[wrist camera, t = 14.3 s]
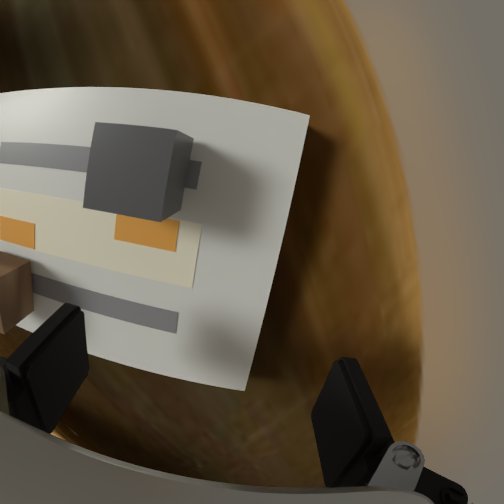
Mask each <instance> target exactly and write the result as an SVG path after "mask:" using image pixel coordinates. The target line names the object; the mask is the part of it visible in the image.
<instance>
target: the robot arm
mask: <svg viewBox="0 0 504 504" xmlns="http://www.w3.org/2000/svg"><path fill="white" fill-rule="evenodd" d="M88 372H89V361H88V353H87V343H86V331H85V317H84V312H83V311H81V308H80V307H79V306H77V305H74V304H70V303H64V304H63V305H62V306H61V307H60V308H59V309H58V310H56V311H55V312H54V313H53V314H52V315H51V316H50V317H49V318H48V319H47V320H46V321H45V322H44V323H43V324H42V325H41V326H40V327H39V328H37V329H36V330H35V331H34V332H33V333H32V334H31V335H30V336H29V337H28V338H27V339H26V340H25V341H24V342H23V343H22V344H21V345H20V346H19V347H18V348H17V349H16V350H15V351H14V352H13V353H12V354H11V355H10V357H9V358H8V359H7V360H6V361H5V364H4V365H3V366H1V365H0V504H468V503H467V502H468V496H467V493H466V491H465V489H464V488H463V487H462V486H461V485H459V484H457V483H455V482H453V481H451V480H449V479H447V478H445V477H443V476H441V475H439V474H437V473H435V472H433V471H431V470H429V469H427V468H425V467H423V466H424V461H425V460H424V455H423V454H422V452H421V450H419V449H418V448H417V447H416V446H415V445H413V444H411V443H408V442H402V441H400V442H395V443H394V440H393V438H392V436H391V433H390V431H389V429H388V426H387V424H386V422H385V420H384V417H383V415H382V413H381V411H380V409H379V406H378V404H377V402H376V400H375V398H374V395H373V393H372V391H371V389H370V387H369V385H368V382H367V380H366V378H365V376H364V374H363V372H362V370H361V368H360V365H359V363H358V361H357V360H356V359H355V358H344V357H341V358H340V359H339V360H338V361H335V362H334V363H333V366H332V368H331V370H330V373H329V375H328V377H327V379H326V382H325V384H324V386H323V388H322V390H321V393H320V395H319V397H318V399H317V401H316V403H315V405H314V407H313V410H312V414H311V419H312V424H313V428H314V433H315V438H316V443H317V448H318V452H319V457H320V462H321V467H322V472H323V477H324V482H325V486H326V487H329V488H279V487H261V486H248V485H238V484H229V483H221V482H214V481H207V480H201V479H195V478H190V477H184V476H179V475H174V474H170V473H165V472H161V471H157V470H153V469H149V468H145V467H141V466H137V465H134V464H130V463H127V462H124V461H120V460H117V459H114V458H111V457H108V456H105V455H102V454H99V453H96V452H93V451H90V450H88V449H85V448H82V447H80V446H77V445H75V444H72V443H70V442H67V441H65V440H63V439H60V438H58V437H55V436H53V435H51V434H50V433H52V431H53V430H54V428H55V427H56V425H57V423H58V421H59V420H60V418H61V416H62V415H63V413H64V411H65V410H66V408H67V407H68V405H69V403H70V402H71V400H72V398H73V397H74V395H75V394H76V392H77V390H78V389H79V387H80V386H81V384H82V382H83V381H84V379H85V378H86V376H87V374H88ZM48 433H49V434H48ZM471 504H473V503H471Z"/></svg>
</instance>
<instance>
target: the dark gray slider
mask: <svg viewBox="0 0 504 504" xmlns="http://www.w3.org/2000/svg"><path fill="white" fill-rule="evenodd" d="M193 141H194V138H192V137H190V136H188V135H186V134H184V133H182V132H180V131H178V130H173V129H165V128H157V127H148V126H138V125H128V124H116V123H102V122H95V126H94V131H93V137H92V142H91V148H90V154H89V160H88V167H87V175H86V182H85V191H84V201H83V208H87V209H92V210H98V211H103V212H108V213H114V214H119V215H125V216H130V217H135V218H141V219H146V220H151V221H156V222H162V221H164V220H165V219H167V218H168V217H170V216H172V215H173V214H175V213H176V212H178V211H180V210H181V206H182V200H183V194H184V188H185V183H186V177H187V172H188V166H189V161H190V156H191V151H192V146H193Z"/></svg>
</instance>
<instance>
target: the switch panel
mask: <svg viewBox="0 0 504 504" xmlns="http://www.w3.org/2000/svg"><path fill="white" fill-rule="evenodd" d="M309 117H310V115H306V114H302V113H298V112H294V111H290V110H286V109H281V108H277V107H272V106H267V105H263V104H258V103H252V102H247V101H242V100H236V99H230V98H224V97H217V96H210V95H203V94H195V93H187V92H178V91H167V90H156V89H141V88H120V87H67V88H47V89H34V90H23V91H14V92H5V93H0V251H2V252H5V253H8V254H11V255H14V256H17V257H20V258H24V259H27V260H30V261H31V278H32V292H33V303H34V311H33V312H31V313H30V314H29V315H28V316H26V317H25V318H24V319H23V320H21V321H20V322H19V323H18V324H16V325H17V326H19V327H21V328H23V329H26V330H28V331H30V332H34V331H35V330H36V329H37V328H39V327H40V326H41V325H42V324H43V323H44V322H45V321H46V320H47V319H48V318H49V317H50V316H51V315H52V314H53V313H54V312H55V311H56V310H58V309H59V308H60V307H61V306H62V305H63V304H64V303H70V304H74V305H77V306H79V307H80V308H81V311H83V312H84V317H85V331H86V343H87V353H89V354H92V355H95V356H98V357H101V358H104V359H107V360H110V361H114V362H117V363H120V364H124V365H127V366H131V367H135V368H138V369H142V370H146V371H149V372H153V373H157V374H161V375H165V376H170V377H174V378H178V379H183V380H187V381H192V382H197V383H202V384H207V385H212V386H218V387H223V388H229V389H235V390H241V391H245V387H246V384H247V380H248V376H249V372H250V369H251V365H252V361H253V357H254V353H255V349H256V346H257V342H258V338H259V334H260V330H261V326H262V322H263V318H264V314H265V310H266V306H267V302H268V298H269V294H270V290H271V286H272V282H273V278H274V274H275V269H276V265H277V261H278V257H279V253H280V248H281V244H282V240H283V236H284V231H285V227H286V223H287V218H288V214H289V210H290V205H291V201H292V196H293V192H294V187H295V183H296V178H297V174H298V169H299V164H300V160H301V155H302V150H303V146H304V141H305V136H306V131H307V127H308V122H309ZM95 122H102V123H116V124H128V125H138V126H148V127H157V128H165V129H173V130H178V131H180V132H182V133H184V134H186V135H188V136H190V137H192V138H194V141H193V146H192V151H191V156H190V161H189V166H188V172H187V177H186V183H185V188H184V194H183V200H182V206H181V210H180V211H178V212H176V213H175V214H173V215H172V216H170V217H168V218H167V219H165V220H164V221H162V222H156V221H151V220H146V219H141V218H135V217H130V216H125V215H119V214H114V213H108V212H103V211H98V210H92V209H87V208H83V201H84V191H85V182H86V175H87V167H88V160H89V154H90V148H91V142H92V137H93V131H94V126H95Z"/></svg>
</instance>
